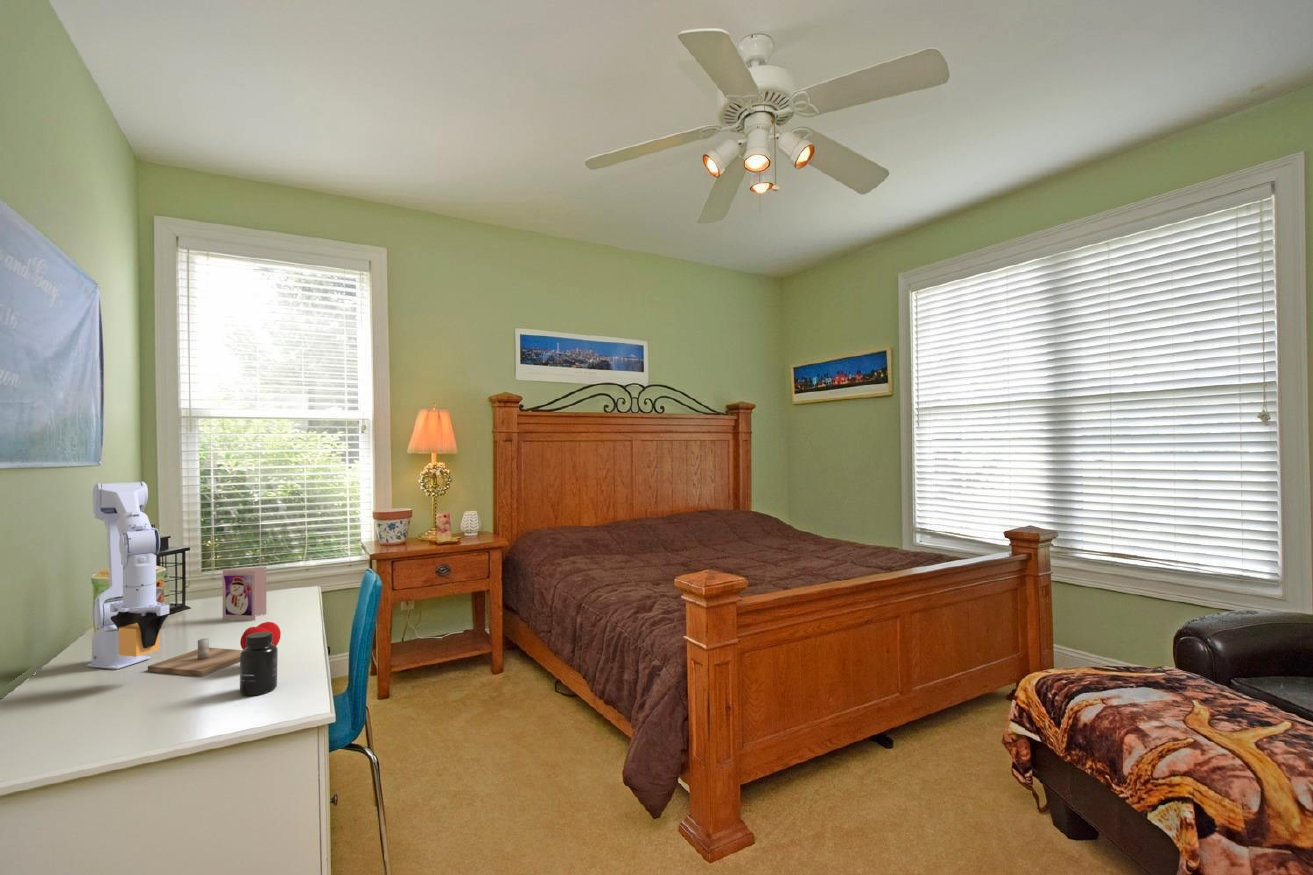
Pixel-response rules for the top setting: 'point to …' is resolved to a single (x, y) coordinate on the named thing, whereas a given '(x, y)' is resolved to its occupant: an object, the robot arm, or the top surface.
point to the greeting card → (244, 593)
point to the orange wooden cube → (134, 641)
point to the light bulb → (262, 628)
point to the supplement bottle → (258, 665)
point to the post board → (198, 661)
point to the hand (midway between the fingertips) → (139, 645)
